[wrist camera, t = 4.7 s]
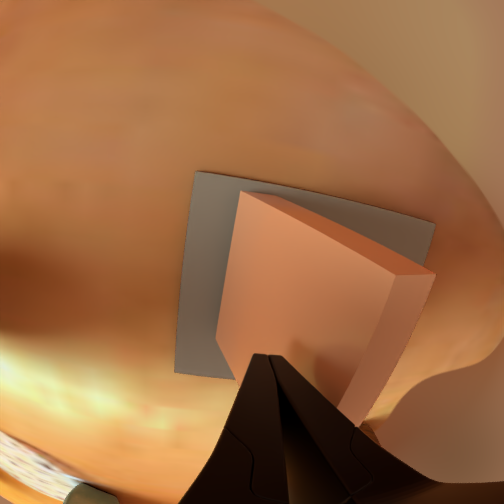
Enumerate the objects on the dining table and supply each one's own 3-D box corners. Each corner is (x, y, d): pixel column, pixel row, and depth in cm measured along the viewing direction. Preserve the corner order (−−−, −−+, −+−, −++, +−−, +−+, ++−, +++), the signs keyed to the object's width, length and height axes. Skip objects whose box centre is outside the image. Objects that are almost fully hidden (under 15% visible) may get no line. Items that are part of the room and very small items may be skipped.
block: (248, 336, 16) (336, 461, 9) (215, 338, 16) (292, 478, 8) (279, 195, 14) (439, 273, 6) (240, 190, 13) (395, 275, 5)
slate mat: (370, 378, 19) (372, 381, 19) (175, 368, 17) (174, 372, 17) (432, 222, 16) (436, 224, 15) (196, 170, 14) (195, 171, 13)
